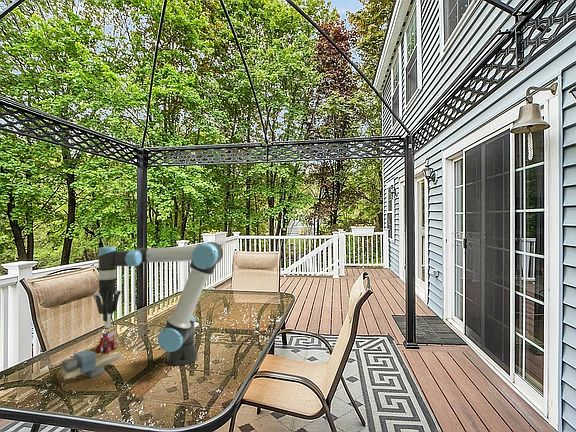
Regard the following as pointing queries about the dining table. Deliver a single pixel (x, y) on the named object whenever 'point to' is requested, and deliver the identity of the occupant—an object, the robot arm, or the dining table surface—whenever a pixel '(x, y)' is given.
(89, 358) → the grey block
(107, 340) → the toy fire truck
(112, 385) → the dining table surface
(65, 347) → the dining table surface
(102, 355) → the rock
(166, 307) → the dining table surface
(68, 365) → the beam
